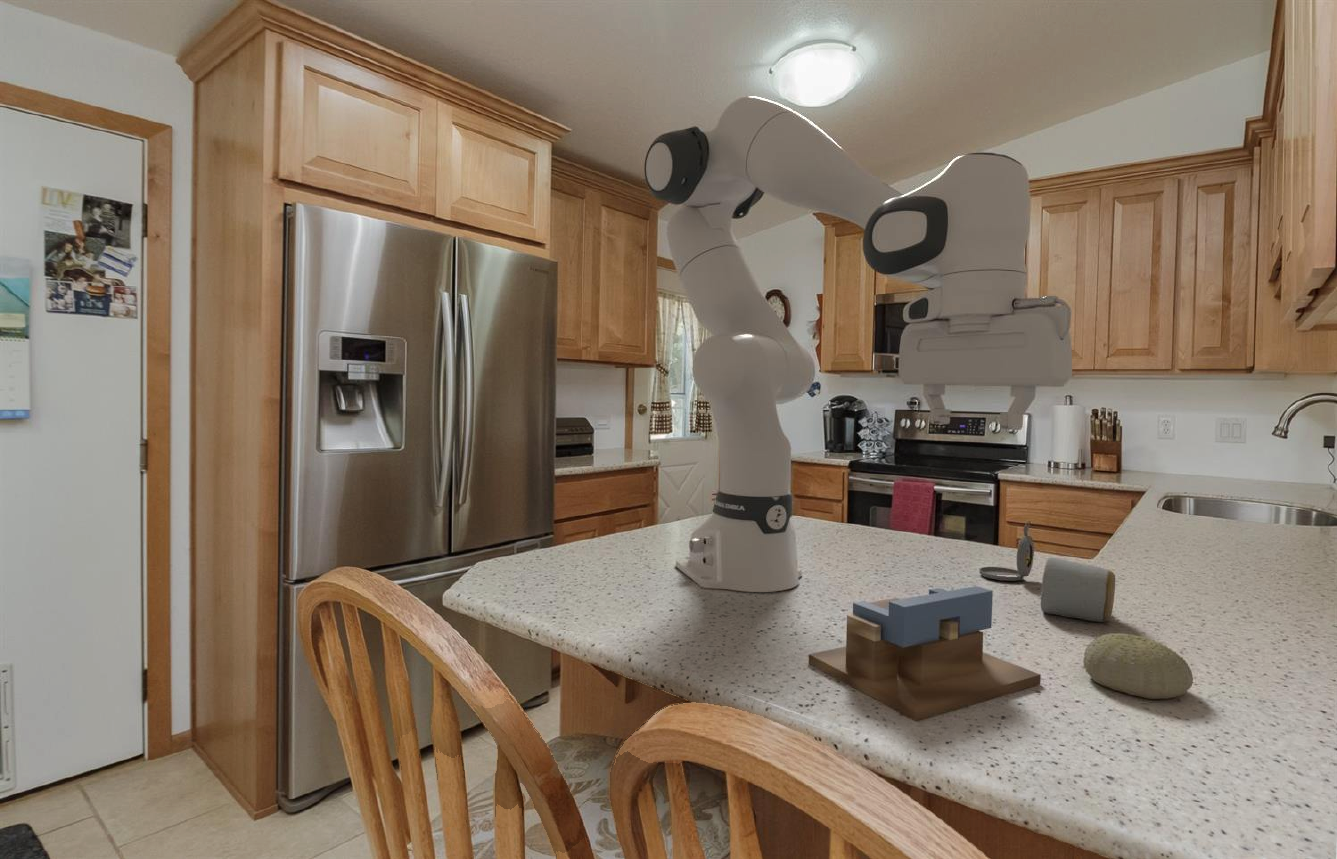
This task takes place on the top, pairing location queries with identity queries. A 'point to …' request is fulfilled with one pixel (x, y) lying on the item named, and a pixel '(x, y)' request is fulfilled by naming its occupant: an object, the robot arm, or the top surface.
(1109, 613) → the ceramic mug
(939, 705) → the stand
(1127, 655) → the sea urchin shell
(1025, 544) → the pocket watch
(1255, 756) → the top surface
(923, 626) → the blue stepped bracket
